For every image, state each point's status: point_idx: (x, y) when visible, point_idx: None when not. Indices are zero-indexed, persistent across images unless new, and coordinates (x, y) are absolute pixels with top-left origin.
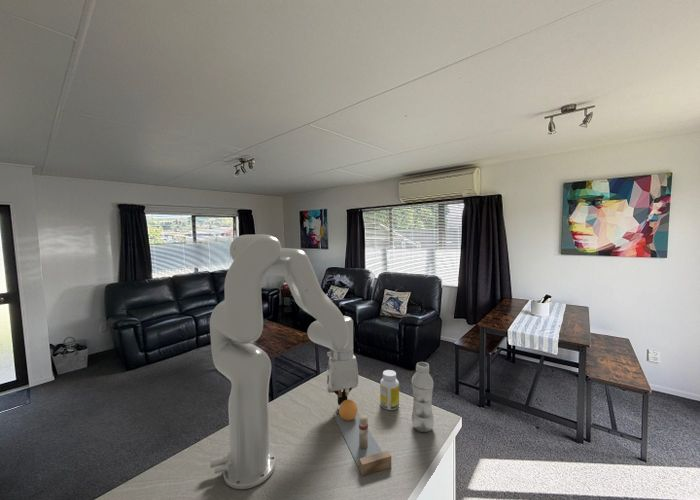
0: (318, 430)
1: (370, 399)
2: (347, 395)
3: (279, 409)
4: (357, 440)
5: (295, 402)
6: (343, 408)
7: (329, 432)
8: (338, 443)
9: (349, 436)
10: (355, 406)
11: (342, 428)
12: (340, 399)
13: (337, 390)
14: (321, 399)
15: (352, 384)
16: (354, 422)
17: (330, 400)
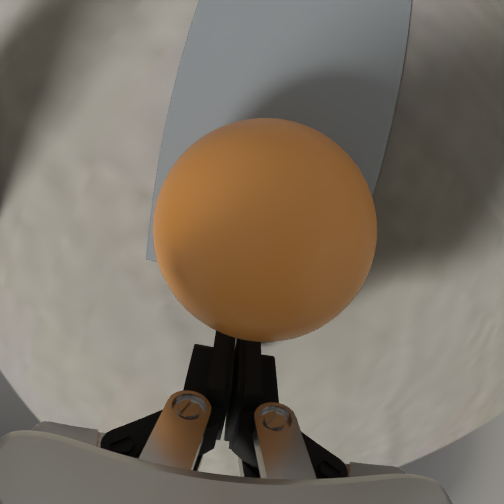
0: (480, 222)
1: (27, 306)
2: (186, 392)
3: (462, 422)
4: None
5: (398, 447)
6: (370, 216)
7: (451, 161)
8: (449, 44)
9: (371, 27)
10: (195, 163)
11: (373, 126)
12: (262, 388)
13: (365, 477)
14: None
15: (81, 490)
16: None
17: None
